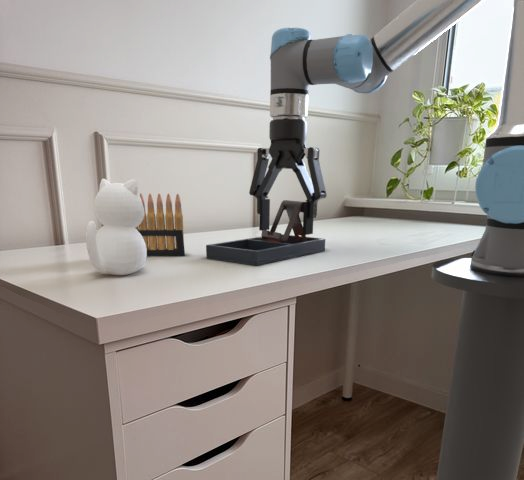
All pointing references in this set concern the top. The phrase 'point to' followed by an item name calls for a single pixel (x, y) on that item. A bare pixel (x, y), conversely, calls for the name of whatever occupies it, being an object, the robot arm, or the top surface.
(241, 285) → the top surface
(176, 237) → the ammunition clip
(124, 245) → the cat figurine
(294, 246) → the divided tray
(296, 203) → the tablet stand
